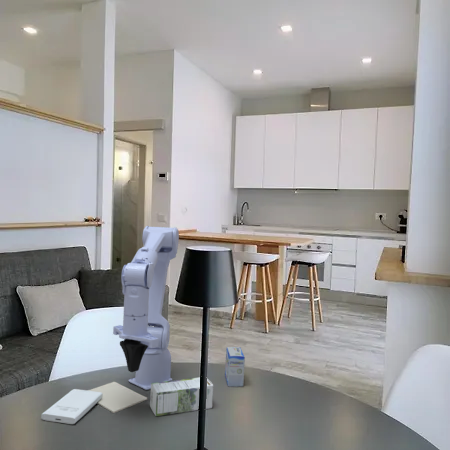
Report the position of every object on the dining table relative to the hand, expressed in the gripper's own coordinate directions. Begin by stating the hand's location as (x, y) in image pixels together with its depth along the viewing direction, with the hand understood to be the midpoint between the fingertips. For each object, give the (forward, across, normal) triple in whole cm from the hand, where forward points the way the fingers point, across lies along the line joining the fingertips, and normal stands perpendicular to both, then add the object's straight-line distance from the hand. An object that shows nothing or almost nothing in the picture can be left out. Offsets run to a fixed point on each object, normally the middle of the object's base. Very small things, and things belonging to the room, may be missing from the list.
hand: (133, 370), depth 97 cm
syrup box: (+7, +4, +3) cm, 8 cm away
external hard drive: (+9, -10, -10) cm, 16 cm away
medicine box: (+10, +6, +31) cm, 33 cm away
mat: (+9, -8, +1) cm, 13 cm away
